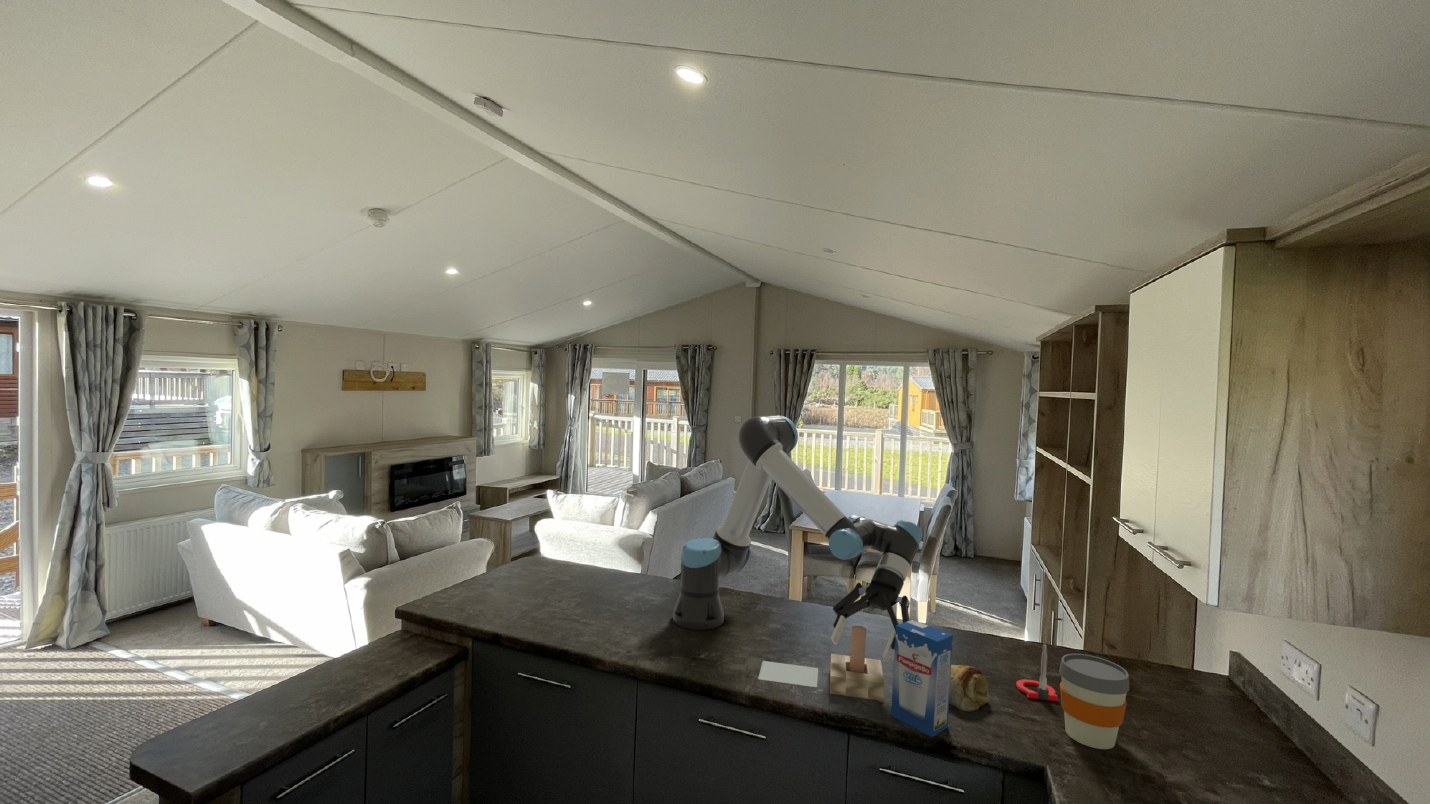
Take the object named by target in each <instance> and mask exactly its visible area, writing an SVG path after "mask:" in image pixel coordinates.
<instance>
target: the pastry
mask: <svg viewBox="0 0 1430 804" xmlns="http://www.w3.org/2000/svg"><path fill="white" fill-rule="evenodd" d="M989 687H990V686H989V682H988V680H987V678H986V677H984V674H983V672H982V670H981V669H980V668H978V667H975V666H969V665H960V664H959V665H958V664H957V665H956V664H955V665H954V664H951V679H950V696H949V706H950V705H951V706H953V707H954V708H956V709H957V710H961V711H965V712H971V713H972V712H973V711H978V710H979V709H980V708H982V707H984V706H985V704H987V703H988V702H989V701H990V695H989Z"/></svg>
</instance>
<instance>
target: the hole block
mask: <svg viewBox="0 0 1430 804" xmlns="http://www.w3.org/2000/svg"><path fill="white" fill-rule="evenodd" d="M882 666H883V665H882V661H881V659H878V658H877V659H875V658H867V657H865V663H864V673H857V672H850V671H849V668H850V655H844V654H837V653H830V665H829V667H830V671H829V674H830V675H829V694H831V695H838V696H845V697H851V698H860V699H865V700H873V701H878V702H879V703H884V698H885V678H884V674H883V667H882Z"/></svg>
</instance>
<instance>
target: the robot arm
mask: <svg viewBox="0 0 1430 804" xmlns="http://www.w3.org/2000/svg"><path fill="white" fill-rule="evenodd" d="M798 439H799V433H798V429H797V427H796V424H794V422H793V421H792V420H791V419H790V418H788V417H786V416H783V415H779V414H772V415H756V416H752V417H749V418H748V419H746V420H745V421H744V422H743V423H742V424H741V427H740V429H739V431H738V443H739V446H740V448H741V450H742V452H743V453H744V455H745V456H746V458H747V459H748V460H747V462H746V465H745V468H744V470H743V473H742V475H741V479H740V481H739V483H738V486H737V488H736V492H735V494H734V496H733V499H732V501H731V504H730V507H729V510H728V512H727V514H726V517H725V520H724V521H723V524H722V525H719V526H717V527H716V530H715V532H714V535H713V538H712V537H700V538H694V539H690V540H688V541H687V542H685V543H684V544H683V546H682V549H681V556H680V562H681V564H680V581H679V582H680V586H679V587H680V588H679V589H680V590H679V595H678V598H677V600H676V603H675V607H674V608H673V612H672V613H673V614H672V615H673V616H672V620H673V622H674V624H675V625H677V626H679V627H682V628H684V629H689V630H695V631H696V630H697V631H698V630H700V631H702V630H705V631H706V630H712V629H716V628H718V627H720V626H721V625H723V624H724V618H725V615H724V614H725V613H724V608H723V606H722V602H721V599H720V581H721V579H724V578H726V577H730V576H731V575H734V574H737V573H739V572H740V571H742V570H743V569H745V568H746V566H747V565H748V564H749V563H750V561H751V558H752V549H751V543H752V539H751V537H750V533H751V530H752V528H753V525H754V523H755V520H756V518H757V516H758V514H759V513H758V512H759V510H760V508H761V505H762V503H763V501H764V500H763V499H764V498H765V495H766V493H767V491H768V488H769V485H770V482H771V480H772V481H773V482H774V483H775V484H776V485H777V486H778V488H780V490H782V491H783V492H784V493H785V495H786V496H787V497H788V498H789V499H790V500H791V501H792V502H793V503H794V504H795V506H796V507H797V508H798V509H799V510H800V511H801V512H802V513H803V514H804V515H805V516H806V517H807V518H808V520H810V522H812V524H813V526H815V527H816V528H817V529H818V530H819V531H820V532H821V534H823V536H824V537H825V538H826V539H827V540H828V547H829V550H830V552H831V554H832V555H833V556H834V557H836V559H837V558H838V559H840V560H850V559H853V558H854V559H855V558H856V557H857V556H859V555H860V554H861V553H862V554H863V552H865V551H867V550H869V549H870V550H873V551H876V552H879V553H882V555H881V557H880V559H879V561H878V564H877V565H876V569H875V571H874V573H873V575H872V578H871V581H870V583H869V585H868V586H864V585H863V584H862V583H861V582H857V583H856V584H855V586H854V588H853V589H852V590H851V591H850V592H849V593H847V594H846V596H844V597H843V598H841V600H840V601H839V602H837V603H836V604H835V605H834V606H833V607H832V610H833V612H834V613H835V614H836V618H835V621H834V623H833V628H834V630H833V632H832V635H831V636H830V638H829V639H830V640H831V642H833V643H832V644H834V645H836V646H837V645H838V643H839V641H840V639H841V636H842V634H843V632H844V630H845V627H846V625H847V623H848V621H847V618H849V617H851V616H852V615H855V614H856V613H858V612H860V611H862V610H864V609H868V608H870V607H871V608H874V609H878V610H880V611H883V612H884V611H887V613H888V615H889V619H890V621H891V623H892V626H893V628H894V631H895V632H893V631H891V632H890V636H889V638H888V641H887V644H886V645H885V648H884V650H883V653H882V655H881V658H882V660H883V661H884V663H885V664H889V663H890V660H891V657H892V655H893V652H894V651H895V635H896V625H899V624H900V623H899V622H898V618H897V616H896V613H895V610H894V608H893V606H895V605H896V604H897V603H898V604H899V606H900V610H901V618H902V619H901V620H902V623H904V622H907V621H909V620H911V619H910V615H909V613H910V612H909V608H910V604H911V603H910V602H911V601H910V600H909V597H908V596H907V595H903V596H899V595H900V594H901V592H902V590H903V589H902V588H903V587H904V582H905V581H906V579H907V577H908V575H909V572H910V569H911V566H912V564H913V562H914V560H915V557H916V554H917V553H918V550H919V549H920V544H921V541H922V538H923V536H924V535H923V531H922V529H921V527H920V526H918V525H917V524H916V523H915V522H912V521H909V520H907V519H905V520H903V519H901V520H898V521H896V523H895V524H894V525H890V524H889V525H888V524H886V523H883V522H880V521H876V520H873V519H869V518H867V517H865V516H861V515H857V514H851V515H850V516H849V517H847V516H846V515H845V513H843V512H842V510H840V508H838V507H837V505H835V503H834V502H833V501H832V500H831V499H830V498H829V497H828V495H826V494H825V493H824V492H823V491H822V490H821V489H820V488H819V487H818V485H816V484H815V482H813V480H812V479H811V478H810V477H809V476H808V475H807V474H806V473H805V472H804V471H803V470H802V469H801V468H800V467H799V466H798V465H797V464H796V463H795V461H793V460H792V459H791V458H790V457H789V456H788V453H790V452H791V451H792V450H794V449H795V447H796V446H797V443H798Z"/></svg>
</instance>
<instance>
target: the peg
mask: <svg viewBox="0 0 1430 804" xmlns="http://www.w3.org/2000/svg"><path fill="white" fill-rule="evenodd" d="M850 637H851V638H850V652H849V653H850V654H849V656H850V668H849V671H850V672H857V673H864V663H865V658H866V646H867V645H866V642H867V628H866V627H864V626H861V625H853V626H851V635H850Z"/></svg>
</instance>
